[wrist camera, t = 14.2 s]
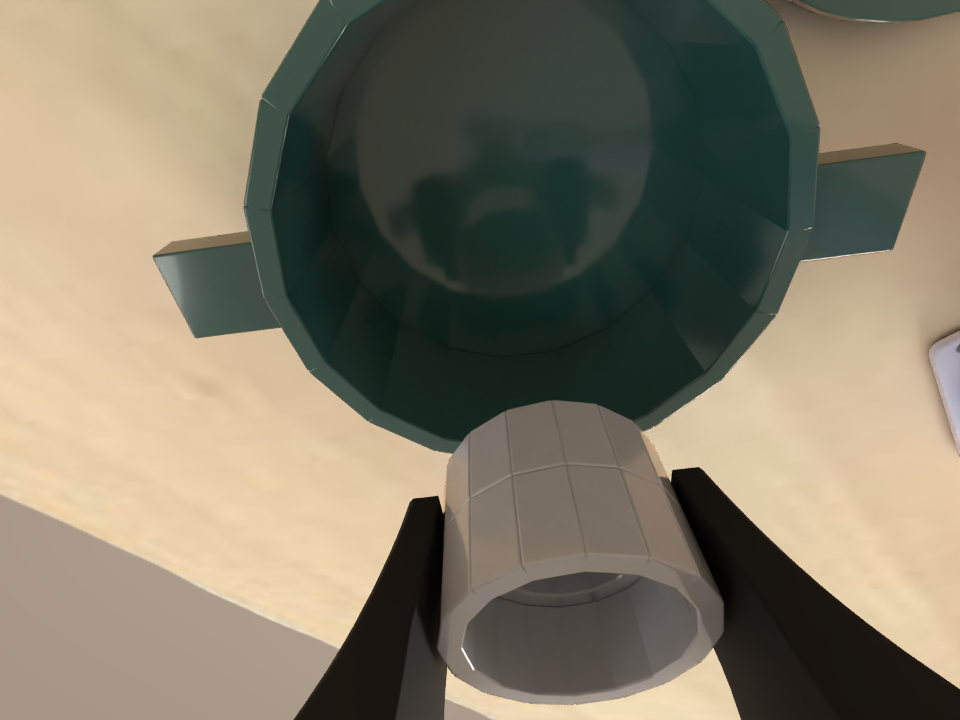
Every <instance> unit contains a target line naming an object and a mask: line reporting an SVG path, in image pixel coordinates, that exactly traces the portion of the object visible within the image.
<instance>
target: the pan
mask: <svg viewBox="0 0 960 720" xmlns="http://www.w3.org/2000/svg"><path fill="white" fill-rule="evenodd" d="M781 20H782V18H781V16H780V15H779V14H778V13H777V12H776V11H775V10H774V9H773V8H772V7H771V6H770V5H769V4H768V3H767V2H766V1H765V0H319V2H318V3H317V5H316V7H315V8H314V10H313V11H312V13H311V15H310V16H309V18H308V20H307V21H306V23H305V25H304V26H303V28H302V30H301V31H300V33H299V35H298V36H297V38H296V40H295V41H294V43H293V44H292V46H291V48H290V49H289V51H288V53H287V54H286V56H285V58H284V59H283V61H282V63H281V64H280V66H279V68H278V69H277V71H276V72H275V74H274V76H273V77H272V79H271V81H270V82H269V84H268V86H267V87H266V89H265V91H264V92H263V94H262V99H261V100H260V101H259V108H258V114H257V121H256V127H255V134H254V140H253V146H252V153H251V159H250V166H249V172H248V179H247V185H246V192H245V198H244V205H245V206H244V212H245V217H246V221H247V226H248V230H249V231H246V232H239V233H232V234H224V235H217V236H210V237H202V238H195V239H188V240H181V241H173V242H171V243H169V244H168V245H167V246H165V247H164V248H163V249H161V250H160V251H158V252H157V253H156V254H154V255H153V259H154V261H155V263H156V265H157V267H158V269H159V270H160V272H161V274H162V276H163V278H164V280H165V282H166V284H167V286H168V288H169V289H170V291H171V293H172V295H173V297H174V299H175V301H176V303H177V305H178V307H179V308H180V310H181V312H182V314H183V316H184V318H185V320H186V322H187V324H188V326H189V327H190V329H191V331H192V333H193V335H194V337H195V338H202V337H210V336H218V335H226V334H234V333H242V332H250V331H258V330H266V329H274V328H282V329H283V331H284V333H285V334H286V336H287V338H288V339H289V341H290V342H291V344H292V346H293V347H294V349H295V350H296V352H297V354H298V355H299V357H300V358H301V360H302V362H303V363H304V365H305V366H306V368H307V370H309V372H310V373H311V374H312V375H313V376H314V377H316V378H317V379H318V380H319V381H320V382H322V383H323V384H324V385H325V386H326V387H328V388H329V389H330V390H331V391H332V392H333V393H335V394H336V395H337V396H338V397H339V398H341V399H342V400H343V401H344V402H345V403H347V404H348V405H349V406H350V407H351V408H352V409H354V410H355V411H356V412H357V413H358V414H360V415H361V416H362V417H363V418H364V419H366V420H367V421H369V422H370V423H372V424H374V425H377V426H379V427H381V428H384V429H386V430H388V431H390V432H393V433H395V434H397V435H400V436H402V437H404V438H406V439H409V440H411V441H413V442H416V443H418V444H420V445H422V446H425V447H427V448H429V449H432V450H434V451H438V452H444V453H451V454H454V452H455V451H456V450H457V448H458V447H459V445H460V444H461V443H462V441H463V440H464V439H465V437H466V436H467V435H468V434H469V433H470V432H471V431H472V430H474V429H475V428H477V427H479V426H480V425H482V424H484V423H485V422H487V421H489V420H490V419H492V418H494V417H495V416H497V415H499V414H500V413H502V412H504V411H507V410H508V409H513V408H517V407H522V406H526V405H531V404H535V403H539V402H544V401H548V400H551V401H552V400H560V401H571V402H583V403H595V404H597V405H600V406H603V407H605V408H607V409H609V410H611V411H613V412H615V413H617V414H620V415H622V416H624V417H626V418H628V419H630V420H632V421H633V422H634V423H635V424H637V425H638V426H639V428H640V429H641V430H642V431H646V430H649V429H651V428H653V426H654V427H655V426H657V425H658V424H660V423H661V422H663V421H664V420H666V419H667V418H669V417H670V416H671V415H673V414H674V413H676V412H677V411H679V410H680V409H682V408H683V407H684V406H686V405H687V404H689V403H690V402H692V401H693V400H695V399H696V398H697V397H699V396H700V395H702V394H703V393H705V392H706V391H708V390H709V389H710V388H712V387H713V386H715V385H716V384H718V383H719V381H722V380H723V378H724V377H725V376H726V375H727V374H728V373H729V371H730V370H731V369H732V368H733V367H734V365H735V364H736V363H737V362H738V361H739V359H740V358H741V357H742V356H743V355H744V354H745V352H746V351H747V350H748V349H749V348H750V346H751V345H752V344H753V343H754V342H755V340H756V339H757V338H758V337H759V336H760V335H761V333H762V332H763V331H764V330H765V329H766V327H767V326H768V325H769V324H770V323H771V321H772V320H773V319H774V318H775V316H776V314H777V313H778V311H779V309H780V306H781V304H782V301H783V299H784V297H785V294H786V292H787V290H788V287H789V285H790V283H791V280H792V278H793V276H794V273H795V271H796V269H797V266H798V264H799V262H805V261H813V260H821V259H829V258H837V257H845V256H853V255H861V254H869V253H877V252H885V251H891V250H892V249H893V248H894V245H895V242H896V239H897V236H898V234H899V231H900V228H901V225H902V222H903V219H904V216H905V214H906V211H907V208H908V205H909V202H910V199H911V197H912V194H913V191H914V188H915V185H916V182H917V179H918V177H919V174H920V171H921V168H922V165H923V162H924V159H925V157H926V151H923V150H920V149H916V148H913V147H909V146H905V145H902V144H898V143H893V144H886V145H879V146H871V147H864V148H857V149H849V150H842V151H835V152H827V153H820V154H819V139H820V127H819V126H818V125H819V121H818V118H817V115H816V112H815V109H814V106H813V104H812V101H811V98H810V95H809V92H808V89H807V86H806V83H805V80H804V77H803V74H802V72H801V69H800V66H799V63H798V60H797V57H796V54H795V51H794V48H793V45H792V42H791V39H790V37H789V34H788V31H787V28H786V25H785V22H783V21H781Z"/></svg>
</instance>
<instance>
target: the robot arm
mask: <svg viewBox="0 0 960 720" xmlns="http://www.w3.org/2000/svg"><path fill="white" fill-rule="evenodd" d="M929 358H930V362H931V365H932V368H933V371H934V375H935V378H936V381H937V385H938V388H939V391H940V395H941V398H942V401H943V405H944V408H945V411H946V414H947V418H948V421H949V424H950V428H951V431H952V434H953V438H954V441H955V444H956V448H957V451H958V454H959V456H960V331H958V332H956V333H954V334H952V335H949V336H947V337H945V338H943V339H941V340H939V341H938V342H936V343H934V344H933V345H932V346H931V348H930V350H929ZM671 485H672V487H673V489H674V491H675V494H676V496H677V498H678V500H679V503H680V505H681V507H682V510H683V512H684V513H685V515H686V518H687V520H688V522H689V524H690V527H691V529H692V531H693V533H694V536H695V538H696V540H697V542H698V545H699V547H700V549H701V551H702V554H703V556H704V558H705V560H706V563H707V565H708V567H709V569H710V571H711V574H712V576H713V578H714V580H715V583H716V585H717V587H718V589H719V592H720V594H721V596H722V598H723V601H724V632H723V635H722V636H721V638H720V639H719V640H718V642H717V643H716V644H715V646H714V647H713V648H714V650H715V652H716V654H717V657H718V659H719V661H720V663H721V666H722V668H723V671H724V673H725V676H726V678H727V681H728V683H729V686H730V688H731V691H732V694H733V697H734V700H735V703H736V706H737V709H738V712H739V715H740V718H741V720H960V689H959V688H957V687H956V686H954V685H953V684H951V683H950V682H949V681H947V680H946V679H944V678H943V677H941V676H940V675H938V674H937V673H936V672H934V671H933V670H931V669H930V668H928V667H927V666H925V665H924V664H923V663H921V662H920V661H918V660H917V659H915V658H914V657H912V656H911V655H910V654H908V653H907V652H905V651H904V650H902V649H901V648H900V647H898V646H897V645H896V644H894V643H893V642H892V641H890V640H889V639H888V638H886V637H885V636H884V635H882V634H881V633H880V632H878V631H877V630H876V629H874V628H873V627H872V626H870V625H869V624H868V623H867V622H865V621H864V620H863V619H861V618H860V617H859V616H858V615H856V614H855V613H854V612H853V611H851V610H850V609H849V608H848V607H846V606H845V605H844V604H843V603H841V602H840V601H839V600H838V599H836V598H835V597H834V596H833V595H832V594H830V593H829V592H828V591H827V590H826V589H825V588H823V587H822V586H821V585H820V584H819V583H817V582H816V581H815V580H814V579H813V578H812V577H811V576H810V575H808V574H807V573H806V572H805V571H804V570H803V569H802V568H800V567H799V566H798V565H797V564H796V563H795V562H794V561H793V560H792V559H790V558H789V557H788V556H787V555H786V554H785V553H784V552H783V551H782V550H781V549H780V548H779V547H778V546H777V545H776V544H774V543H773V542H772V541H771V540H770V539H769V538H768V537H767V536H766V535H765V534H764V533H763V532H762V531H761V530H760V529H759V528H758V527H757V526H756V525H755V524H754V523H753V522H752V521H751V520H750V519H749V518H748V517H747V516H746V515H745V514H744V513H743V512H742V511H741V510H740V509H739V508H738V507H737V506H736V505H735V504H734V503H733V502H732V501H731V500H730V499H729V498H728V497H727V496H726V494H725V493H724V492H723V491H722V490H721V489H720V488H719V487H718V486H717V485H716V484H715V483H714V482H713V481H712V479H711V478H710V477H709V476H708V475H707V474H706V473H705V472H704V471H703V470H702V469H701V468H699V467H696V468H687V469H678V470H672V478H671ZM442 526H443V512H442V508H441V504H440V501H439V497H438V496H433V497H424V498H415V499H413V500H412V501H411V502H410V503H409V506H408V509H407V512H406V515H405V517H404V520H403V523H402V525H401V528H400V530H399V533H398V535H397V538H396V540H395V542H394V545H393V547H392V549H391V552H390V554H389V556H388V558H387V561H386V563H385V565H384V567H383V569H382V571H381V573H380V576H379V578H378V580H377V582H376V584H375V586H374V588H373V590H372V592H371V594H370V596H369V598H368V600H367V601H366V603H365V605H364V607H363V609H362V611H361V613H360V615H359V617H358V619H357V620H356V622H355V624H354V626H353V628H352V629H351V631H350V633H349V635H348V636H347V638H346V640H345V642H344V643H343V645H342V647H341V648H340V650H339V652H338V653H337V655H336V657H335V658H334V660H333V661H332V663H331V665H330V666H329V668H328V670H327V671H326V673H325V674H324V676H323V677H322V679H321V680H320V682H319V683H318V685H317V686H316V688H315V689H314V691H313V692H312V694H311V695H310V697H309V698H308V700H307V701H306V703H305V704H304V706H303V707H302V708H301V710H300V711H299V713H298V714H297V716H296V717H295V719H294V720H444V704H445V687H446V675H447V665H446V663H445V662H444V660H443V659H442V657H441V656H440V654H439V653H438V651H437V647H436V643H437V623H438V602H439V582H440V564H441V552H442V550H441V547H442Z"/></svg>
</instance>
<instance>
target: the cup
mask: <svg viewBox="0 0 960 720" xmlns="http://www.w3.org/2000/svg"><path fill="white" fill-rule="evenodd" d="M441 550H442V552H441V564H440V582H439V602H438V623H437V643H436V647H437V651H438V653H439V654H440V656H441V657H442V659H443V660H444V662H445V663H446V665H447V666H448V668H449V670H450V671H451V673H452V674H454V676H455V677H457V678H459V679H460V680H462V681H464V682H466V683H467V684H469V685H471V686H473V687H474V688H476V689H478V690H480V691H481V692H483V693H487V694H489V695H493V696H498V697H502V698H506V699H510V700H515V701H519V702H523V703H529V704H557V705H574V704H576V705H578V704H585V703H592V702H599V701H606V700H613V699H620V698H622V697H624V698H625V697H628V696H630V695H633V694H636V693H639V692H642V691H645V690H648V689H651V688H654V687H657V686H660V685H663V684H665V683H666V682H670V681H672V680H673V679H675V678H676V677H678V676H680V675H681V674H683V673H684V672H686V671H688V670H689V669H691V668H693V667H694V666H696V665H697V664H699V663H701V662H702V660H704V659H705V658H706V656H707V655H708V654H709V652H710V651H711V650H712V648H713V647H714V646H715V644H716V643H717V642H718V640H719V639H720V638H721V636H722V635H723V632H724V601H723V598H722V596H721V594H720V592H719V589H718V587H717V585H716V583H715V580H714V578H713V576H712V574H711V571H710V569H709V567H708V565H707V563H706V560H705V558H704V556H703V554H702V551H701V549H700V547H699V545H698V542H697V540H696V538H695V536H694V533H693V531H692V529H691V527H690V524H689V522H688V520H687V518H686V515H685V513H684V512H683V510H682V507H681V505H680V503H679V500H678V498H677V496H676V494H675V491H674V489H673V487H672V485H671V482H670V480H669V478H668V476H667V473H666V471H665V469H664V467H663V464H662V462H661V460H660V458H659V455H658V453H657V451H656V449H655V447H654V445H653V444H652V443H651V441H650V440H649V439H648V438H647V436H646V435H645V434H644V433H643V431H642V430H641V429H640V428H639V426H638V425H637V424H635V423H634V422H633V421H632V420H630V419H628V418H626V417H624V416H622V415H620V414H617V413H615V412H613V411H611V410H609V409H607V408H605V407H603V406H600V405H597V404H595V403H583V402H571V401H560V400H552V401H551V400H548V401H544V402H539V403H535V404H531V405H526V406H522V407H517V408H513V409H508V410H507V411H504V412H502V413H500V414H499V415H497V416H495V417H494V418H492V419H490V420H489V421H487V422H485V423H484V424H482V425H480V426H479V427H477V428H475V429H474V430H472V431H471V432H470V433H469V434H468V435H467V436H466V437H465V439H464V440H463V441H462V443H461V444H460V445H459V447H458V448H457V450H456V451H455V452H454V454H453V455H452V456H451V458H450V459H449V462H448V465H447V470H446V478H445V486H444V500H443V526H442V547H441Z"/></svg>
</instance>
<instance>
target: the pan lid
mask: <svg viewBox="0 0 960 720" xmlns="http://www.w3.org/2000/svg"><path fill="white" fill-rule="evenodd" d="M788 1H790V2H792V3H795V4H797V5H799V6H801V7H803V8H805V9H807V10H809V11H811V12H814V13H818V14H821V15H825V16H829V17H833V18H836V19H840V20H846V21H858V22H869V23H891V22H905V21H918V20H924V19H929V18H933V17H938V16H943V15H947V14H952V13H956V12H960V0H788Z"/></svg>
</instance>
